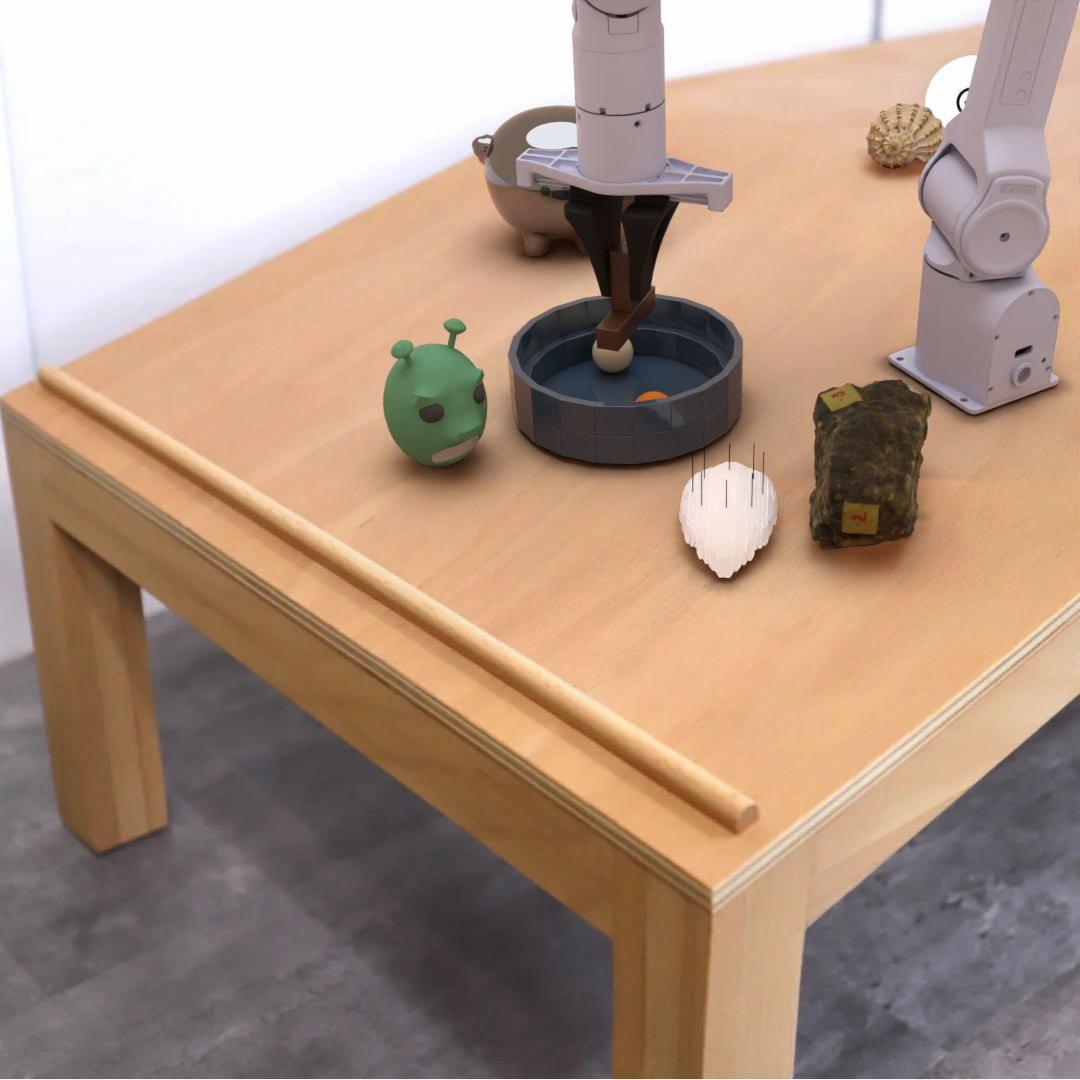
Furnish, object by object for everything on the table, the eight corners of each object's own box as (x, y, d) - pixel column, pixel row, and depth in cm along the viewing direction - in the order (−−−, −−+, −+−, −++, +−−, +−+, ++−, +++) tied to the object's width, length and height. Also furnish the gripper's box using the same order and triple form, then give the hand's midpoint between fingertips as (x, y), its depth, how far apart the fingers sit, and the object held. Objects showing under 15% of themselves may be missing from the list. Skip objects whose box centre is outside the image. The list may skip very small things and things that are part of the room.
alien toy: (432, 503, 105) (416, 371, 99) (371, 456, 110) (353, 328, 105) (518, 465, 108) (507, 335, 103) (455, 420, 114) (442, 294, 108)
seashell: (859, 174, 151) (868, 169, 141) (860, 109, 150) (869, 99, 140) (942, 172, 150) (957, 167, 141) (944, 107, 149) (959, 97, 139)
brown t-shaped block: (634, 303, 113) (632, 224, 110) (655, 306, 113) (654, 227, 109) (596, 348, 108) (592, 268, 105) (618, 352, 108) (615, 271, 104)
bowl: (787, 424, 110) (789, 361, 108) (583, 496, 105) (580, 431, 102) (664, 332, 122) (663, 273, 119) (475, 392, 117) (469, 332, 114)
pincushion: (686, 472, 106) (685, 398, 103) (778, 474, 105) (781, 400, 102) (673, 580, 97) (672, 503, 94) (774, 584, 96) (777, 506, 93)
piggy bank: (655, 265, 132) (653, 131, 125) (475, 271, 133) (463, 139, 126) (653, 209, 141) (651, 82, 134) (485, 215, 142) (474, 89, 135)
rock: (979, 450, 91) (843, 430, 91) (940, 589, 95) (809, 571, 95) (934, 380, 103) (813, 363, 102) (901, 507, 106) (784, 490, 106)
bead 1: (641, 372, 117) (640, 336, 115) (605, 384, 116) (604, 347, 114) (620, 356, 119) (619, 320, 117) (585, 367, 118) (583, 331, 116)
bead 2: (684, 435, 109) (683, 397, 108) (646, 448, 108) (645, 410, 106) (661, 416, 111) (660, 378, 110) (624, 428, 110) (622, 391, 109)
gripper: (749, 88, 101) (746, 282, 109) (542, 68, 107) (553, 254, 114) (712, 128, 96) (711, 328, 104) (496, 105, 101) (511, 297, 109)
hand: (626, 293), depth 109 cm, fingers closed on brown t-shaped block, 1 cm apart
